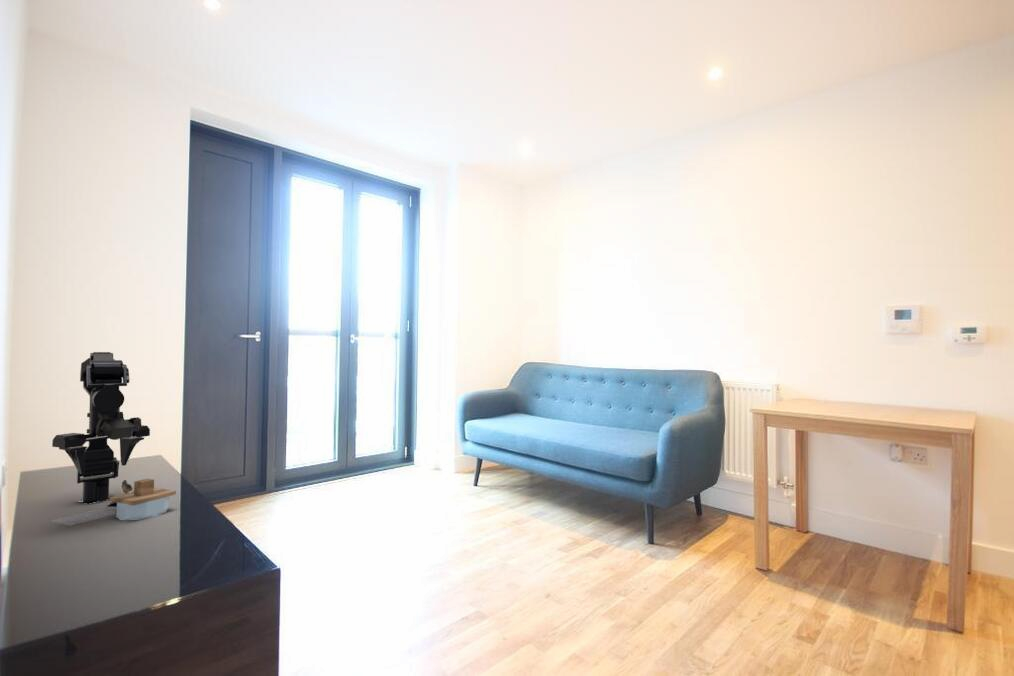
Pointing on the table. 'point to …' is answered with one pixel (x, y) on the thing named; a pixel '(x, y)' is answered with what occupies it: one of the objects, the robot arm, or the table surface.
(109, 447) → the robot arm
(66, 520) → the mat
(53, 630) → the table surface
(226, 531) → the table surface
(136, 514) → the bowl
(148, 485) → the lid
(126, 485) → the eagle figurine
